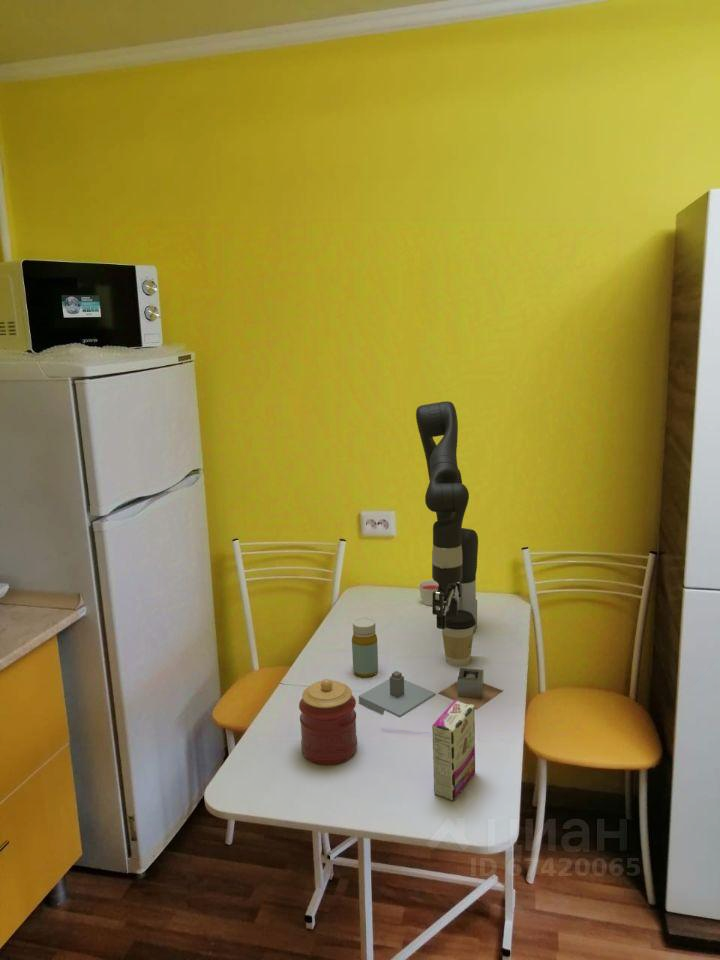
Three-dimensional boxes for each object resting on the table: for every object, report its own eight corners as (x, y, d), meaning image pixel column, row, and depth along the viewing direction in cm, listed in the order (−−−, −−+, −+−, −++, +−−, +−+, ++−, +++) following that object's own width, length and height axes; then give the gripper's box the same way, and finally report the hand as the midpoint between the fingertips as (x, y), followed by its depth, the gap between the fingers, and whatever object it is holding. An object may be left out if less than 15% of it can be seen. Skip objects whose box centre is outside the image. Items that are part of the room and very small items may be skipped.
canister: (304, 733, 174) (300, 666, 170) (358, 733, 173) (356, 665, 169) (298, 766, 161) (294, 695, 157) (356, 766, 160) (353, 694, 156)
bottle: (348, 675, 201) (346, 625, 197) (360, 664, 207) (358, 615, 203) (371, 680, 198) (369, 629, 194) (382, 669, 204) (381, 619, 200)
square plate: (394, 682, 196) (394, 655, 194) (435, 700, 186) (435, 671, 185) (358, 703, 186) (357, 674, 185) (400, 722, 177) (399, 693, 175)
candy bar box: (454, 766, 159) (454, 698, 156) (475, 772, 157) (476, 704, 153) (432, 794, 150) (431, 723, 146) (454, 802, 148) (453, 730, 144)
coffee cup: (482, 663, 205) (482, 614, 201) (462, 677, 198) (462, 626, 194) (453, 653, 211) (453, 605, 208) (433, 666, 204) (432, 616, 201)
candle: (419, 597, 254) (419, 580, 253) (445, 597, 253) (444, 580, 252) (418, 607, 245) (418, 589, 244) (445, 607, 244) (445, 590, 243)
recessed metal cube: (460, 685, 190) (460, 667, 189) (483, 687, 189) (483, 669, 188) (457, 696, 185) (457, 679, 184) (481, 699, 183) (481, 681, 182)
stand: (465, 681, 196) (465, 660, 194) (503, 696, 187) (503, 674, 186) (438, 698, 187) (437, 677, 186) (476, 715, 179) (476, 693, 178)
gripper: (443, 551, 188) (443, 609, 192) (422, 568, 176) (422, 630, 180) (470, 554, 185) (470, 614, 189) (451, 572, 173) (451, 635, 176)
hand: (447, 621), depth 184 cm, fingers open, 8 cm apart
